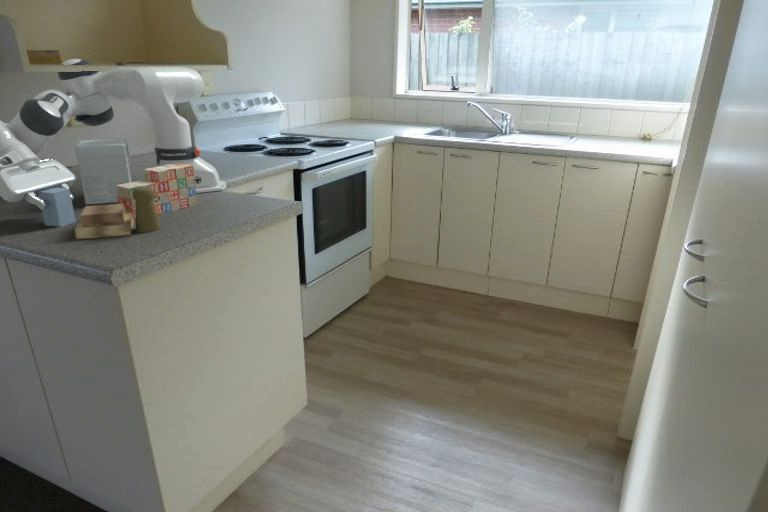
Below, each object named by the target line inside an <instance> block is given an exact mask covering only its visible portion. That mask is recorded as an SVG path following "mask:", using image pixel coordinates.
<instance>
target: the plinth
mask: <svg viewBox="0 0 768 512" xmlns="http://www.w3.org/2000/svg"><path fill="white" fill-rule="evenodd" d="M134 222H135V221H134V220H133V214H132V213H125V207H124V204H118V203H109V204H95V205H85V207H84V208H83V209H82V212H81V213H80V219H79V221H78V223H77V224H76V227H75V228H74V233H75V239H76V240H83V239H86V238H87V239H95V238H96V239H97V238H98V237H99V238H107V237H108V238H109V237H120V236H131V234H132V230H133V226H134Z"/></svg>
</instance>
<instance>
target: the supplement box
mask: <svg viewBox="0 0 768 512" xmlns="http://www.w3.org/2000/svg"><path fill="white" fill-rule="evenodd" d="M128 145H129V144H128V138H117V139H115V138H113V139H112V138H111V139H86V140H85V139H82V140H80V141H79V142H78V143H77V144H76V145H75V146H74V149H75V155H76V159H77V163H78V165H77V166H78V168H79V169H78V170H79V174H80V176H79V177H80V180H81V186H82V190H83V196H84V203H85V205H103V204H117V203H118V199H117V191H116V185H120V184H126V183H131V182H134V178H133V177H134V176H133V171H132V165H131V158H130V157H131V156H130V152H129V146H128Z"/></svg>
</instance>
